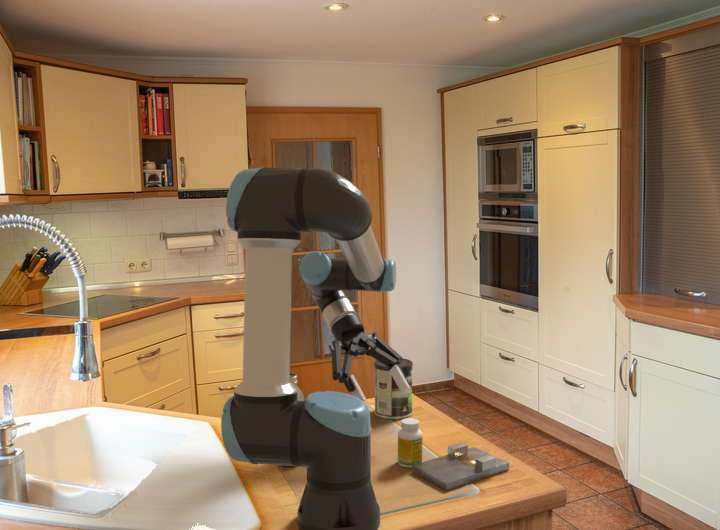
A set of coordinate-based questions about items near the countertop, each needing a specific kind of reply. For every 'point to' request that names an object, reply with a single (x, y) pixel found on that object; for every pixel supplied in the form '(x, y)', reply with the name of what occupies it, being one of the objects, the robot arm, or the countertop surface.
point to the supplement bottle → (409, 443)
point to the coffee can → (392, 392)
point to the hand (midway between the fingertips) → (385, 396)
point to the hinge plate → (460, 466)
